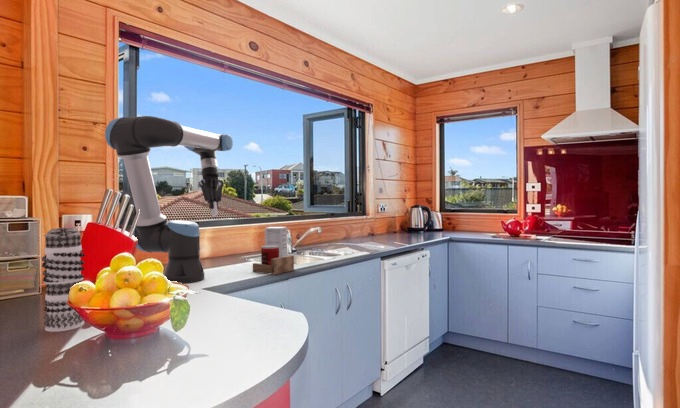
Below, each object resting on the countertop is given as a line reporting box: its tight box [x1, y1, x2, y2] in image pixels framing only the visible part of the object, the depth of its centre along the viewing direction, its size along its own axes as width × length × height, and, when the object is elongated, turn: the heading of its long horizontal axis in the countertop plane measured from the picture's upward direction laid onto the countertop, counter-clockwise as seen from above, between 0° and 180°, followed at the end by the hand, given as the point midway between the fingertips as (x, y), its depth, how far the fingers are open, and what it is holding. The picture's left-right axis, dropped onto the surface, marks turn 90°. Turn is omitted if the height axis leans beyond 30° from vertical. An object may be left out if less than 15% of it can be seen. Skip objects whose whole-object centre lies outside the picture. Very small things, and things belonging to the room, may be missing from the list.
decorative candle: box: [41, 227, 86, 333], centre depth 104 cm, size 9×9×25 cm
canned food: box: [260, 245, 279, 265], centre depth 180 cm, size 8×8×11 cm
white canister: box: [264, 226, 288, 257], centre depth 215 cm, size 10×9×17 cm
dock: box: [252, 254, 295, 275], centre depth 180 cm, size 12×13×6 cm
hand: (214, 215), depth 191 cm, fingers closed
